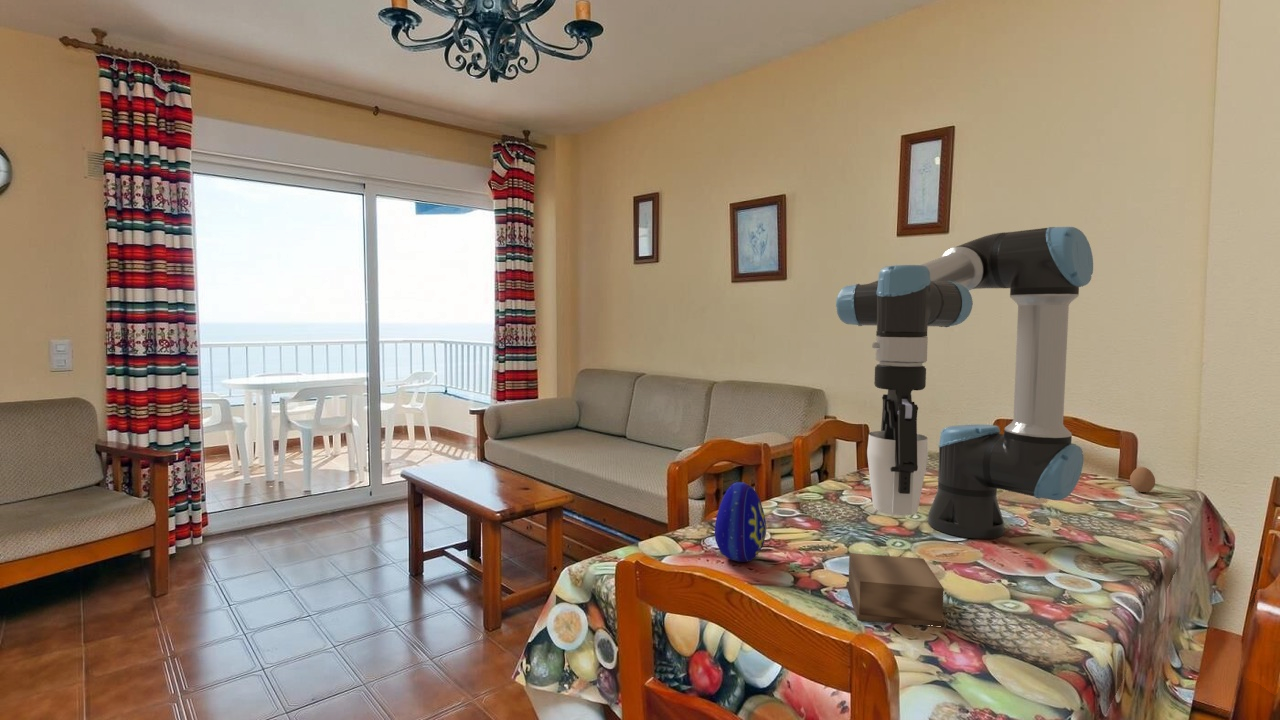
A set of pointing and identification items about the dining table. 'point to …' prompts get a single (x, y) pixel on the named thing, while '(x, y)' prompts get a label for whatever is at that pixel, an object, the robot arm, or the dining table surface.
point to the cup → (882, 477)
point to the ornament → (740, 523)
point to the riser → (894, 590)
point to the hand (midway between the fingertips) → (895, 504)
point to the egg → (1142, 479)
